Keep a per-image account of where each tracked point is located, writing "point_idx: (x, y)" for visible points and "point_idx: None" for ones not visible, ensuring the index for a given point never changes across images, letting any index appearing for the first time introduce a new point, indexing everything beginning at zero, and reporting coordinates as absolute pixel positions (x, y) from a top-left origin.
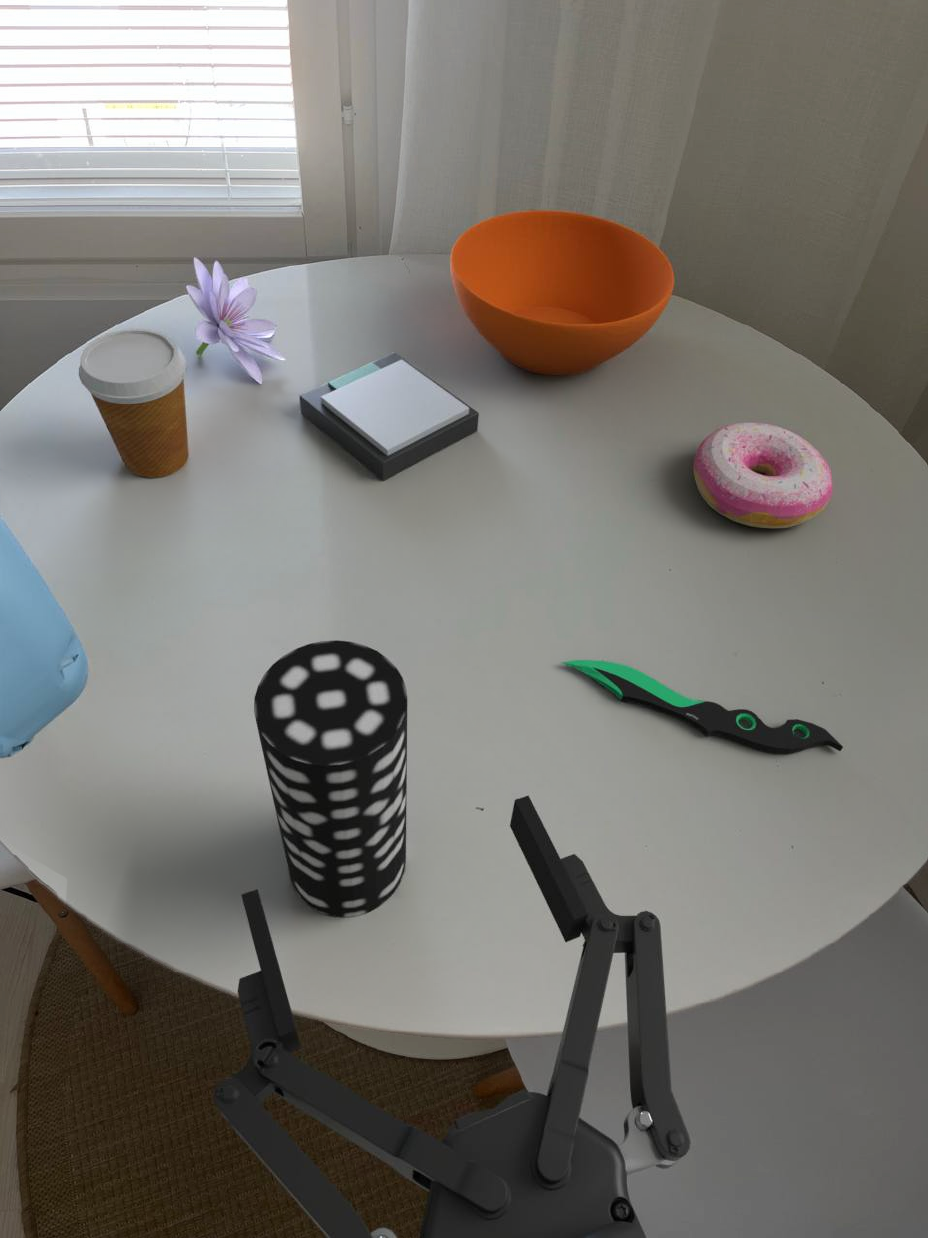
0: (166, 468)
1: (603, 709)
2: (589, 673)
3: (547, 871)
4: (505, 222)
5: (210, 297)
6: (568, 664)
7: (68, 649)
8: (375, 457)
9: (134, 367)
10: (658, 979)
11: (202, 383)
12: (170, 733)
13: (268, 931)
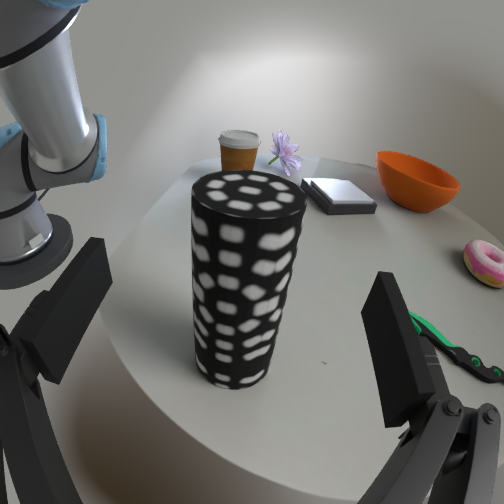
0: None
1: None
2: None
3: (397, 339)
4: (399, 155)
5: (280, 139)
6: None
7: None
8: (327, 202)
9: (239, 137)
10: (489, 476)
11: (266, 170)
12: (179, 266)
13: (83, 264)
